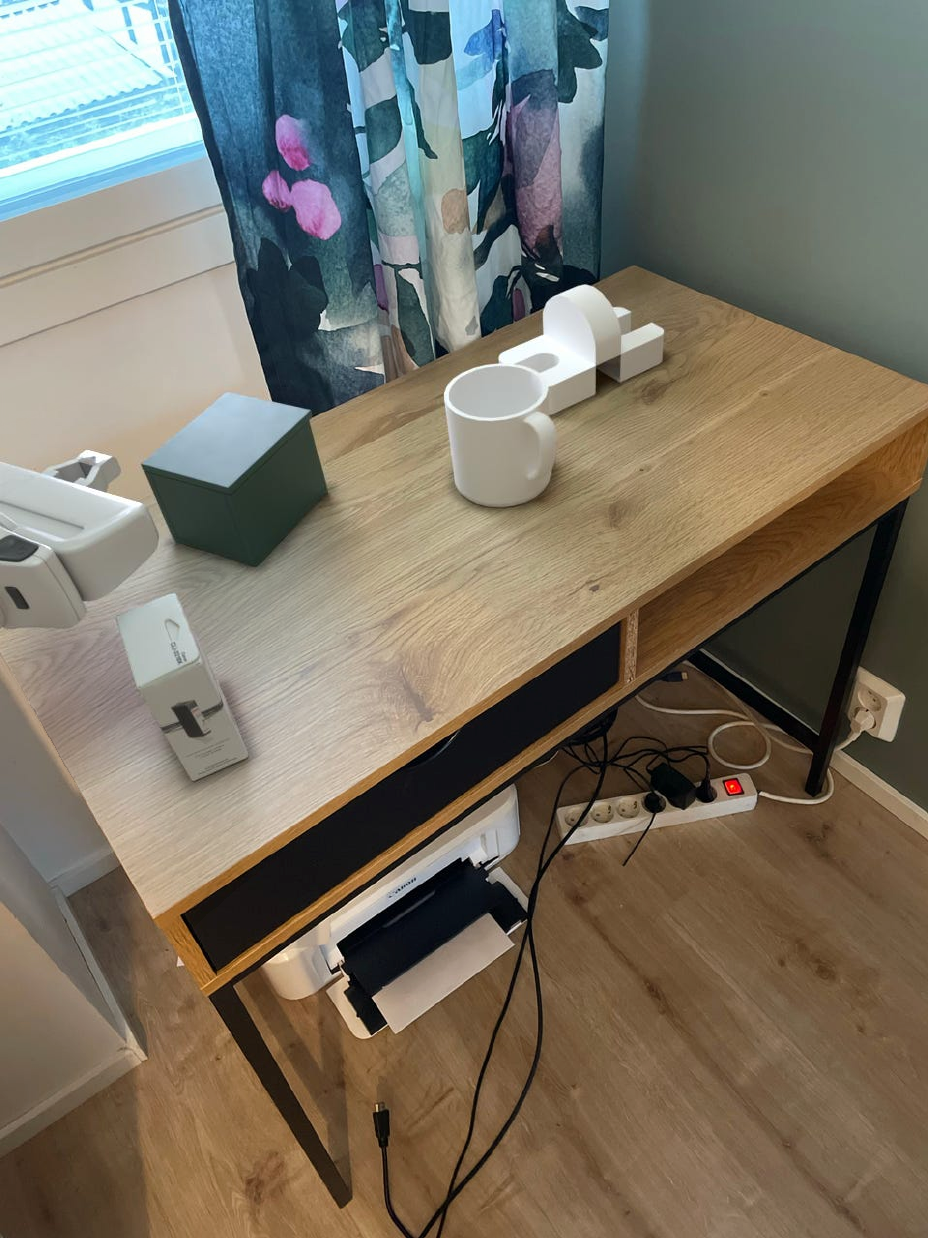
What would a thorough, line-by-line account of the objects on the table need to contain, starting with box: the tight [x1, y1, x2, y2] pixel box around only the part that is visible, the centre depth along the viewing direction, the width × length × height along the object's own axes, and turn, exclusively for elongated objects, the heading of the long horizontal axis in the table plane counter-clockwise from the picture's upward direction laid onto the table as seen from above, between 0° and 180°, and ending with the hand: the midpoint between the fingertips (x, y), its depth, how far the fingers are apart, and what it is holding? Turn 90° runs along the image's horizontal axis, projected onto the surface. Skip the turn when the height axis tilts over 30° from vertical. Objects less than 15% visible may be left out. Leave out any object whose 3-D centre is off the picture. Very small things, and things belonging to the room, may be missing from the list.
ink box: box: [114, 592, 249, 782], centre depth 69 cm, size 8×5×12 cm, turn 27°
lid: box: [140, 391, 313, 494], centre depth 86 cm, size 13×11×1 cm
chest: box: [143, 420, 328, 568], centre depth 89 cm, size 13×11×9 cm
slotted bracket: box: [498, 284, 665, 416], centre depth 102 cm, size 18×10×10 cm, turn 123°
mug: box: [443, 363, 558, 508], centre depth 88 cm, size 13×10×10 cm
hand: (105, 459), depth 73 cm, fingers closed
